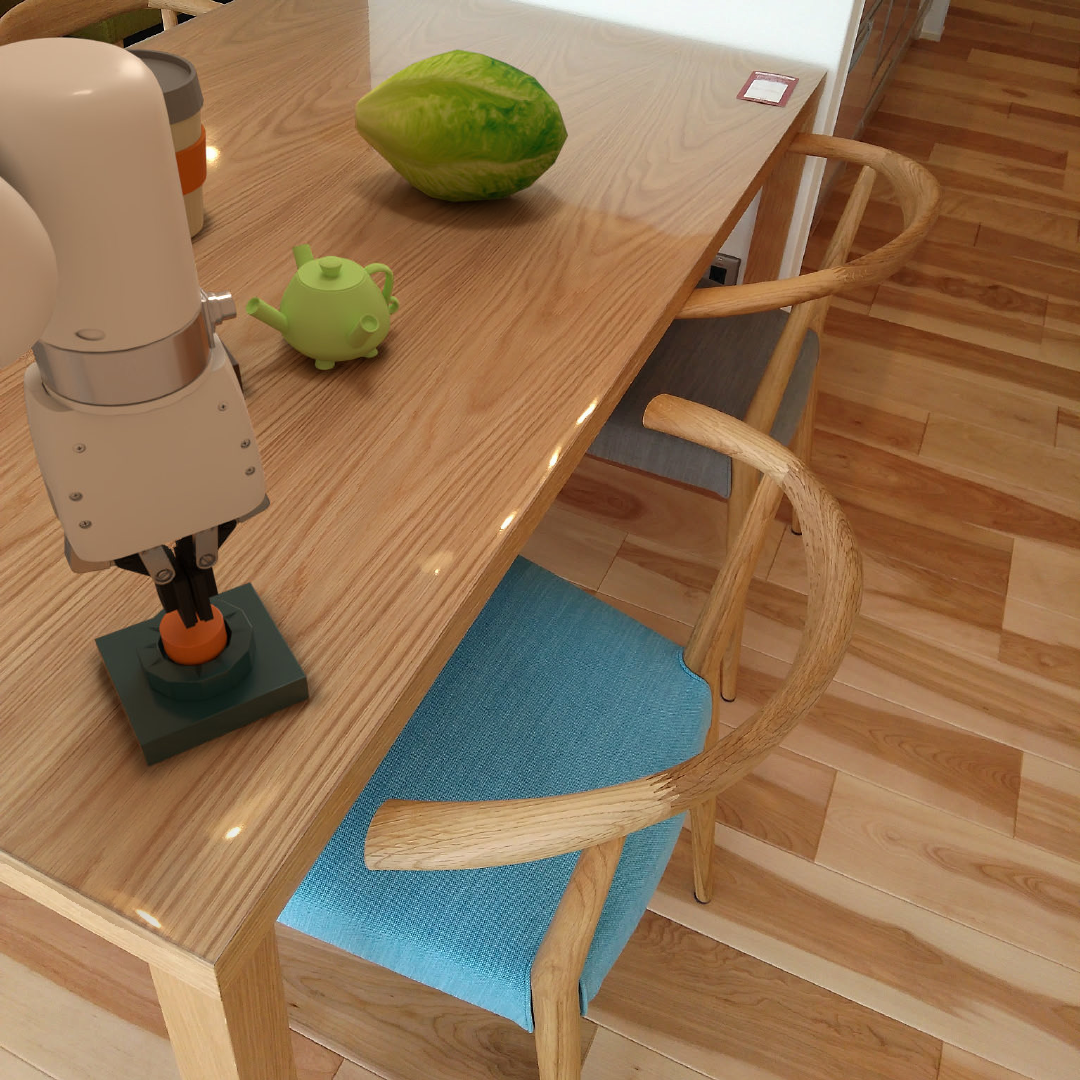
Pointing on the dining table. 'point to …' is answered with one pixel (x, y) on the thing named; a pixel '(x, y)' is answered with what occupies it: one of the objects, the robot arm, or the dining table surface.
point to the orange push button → (193, 638)
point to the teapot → (331, 308)
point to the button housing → (202, 678)
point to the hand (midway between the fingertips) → (191, 607)
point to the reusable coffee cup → (183, 125)
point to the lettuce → (463, 126)
